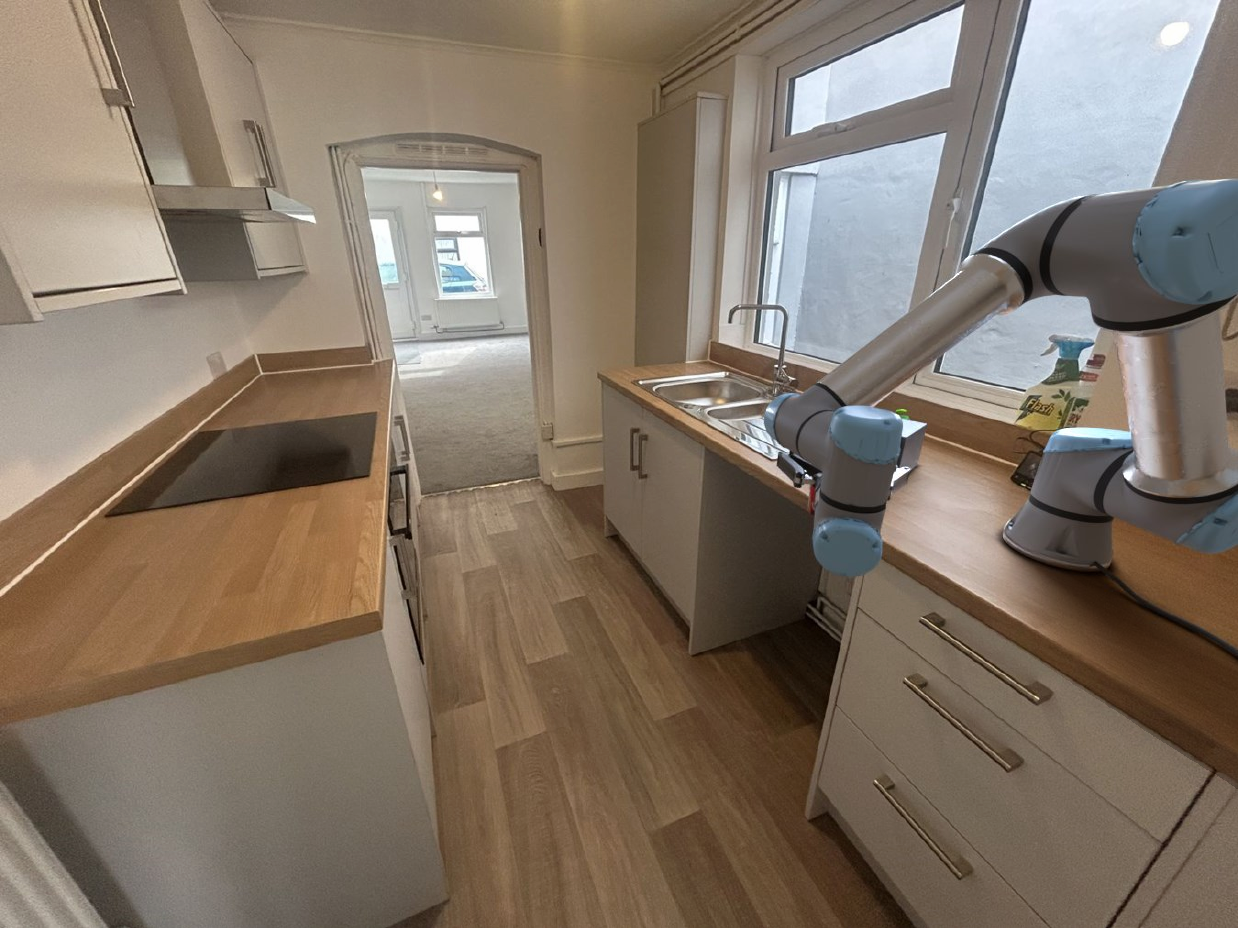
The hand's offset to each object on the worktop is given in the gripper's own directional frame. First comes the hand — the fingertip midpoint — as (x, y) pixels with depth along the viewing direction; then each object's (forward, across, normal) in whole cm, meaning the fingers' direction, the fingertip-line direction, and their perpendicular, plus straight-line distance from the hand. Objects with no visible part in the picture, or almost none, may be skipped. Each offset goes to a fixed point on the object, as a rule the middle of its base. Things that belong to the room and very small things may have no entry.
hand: (838, 451), depth 87 cm
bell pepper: (+68, +19, -18) cm, 72 cm away
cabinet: (+44, +14, -18) cm, 50 cm away
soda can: (+10, 0, -18) cm, 21 cm away
